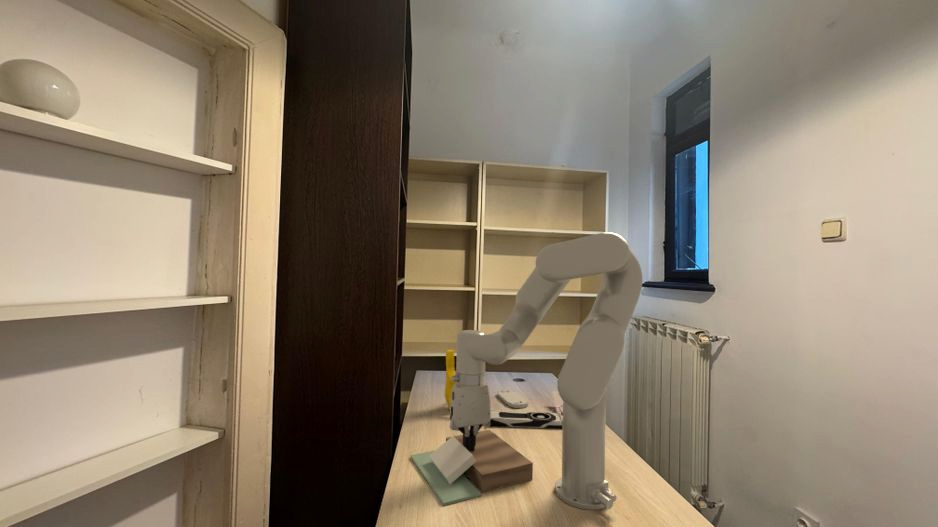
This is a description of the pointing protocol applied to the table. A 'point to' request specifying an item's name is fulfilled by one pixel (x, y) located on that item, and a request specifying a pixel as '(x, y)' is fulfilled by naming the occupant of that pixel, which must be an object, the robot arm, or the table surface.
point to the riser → (496, 463)
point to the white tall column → (558, 404)
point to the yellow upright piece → (449, 375)
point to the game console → (513, 399)
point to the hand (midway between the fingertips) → (469, 449)
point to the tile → (452, 459)
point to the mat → (444, 481)
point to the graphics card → (525, 419)
